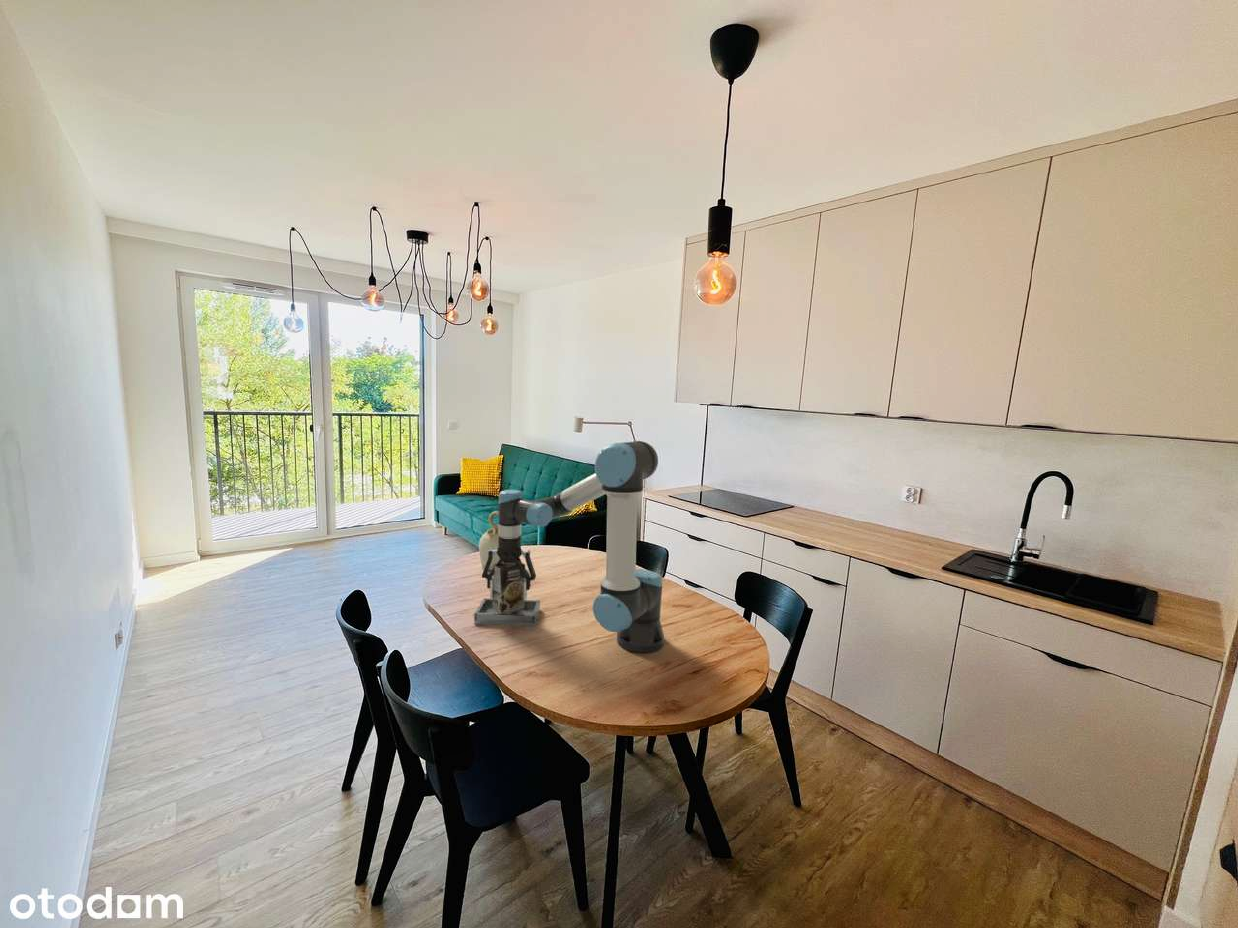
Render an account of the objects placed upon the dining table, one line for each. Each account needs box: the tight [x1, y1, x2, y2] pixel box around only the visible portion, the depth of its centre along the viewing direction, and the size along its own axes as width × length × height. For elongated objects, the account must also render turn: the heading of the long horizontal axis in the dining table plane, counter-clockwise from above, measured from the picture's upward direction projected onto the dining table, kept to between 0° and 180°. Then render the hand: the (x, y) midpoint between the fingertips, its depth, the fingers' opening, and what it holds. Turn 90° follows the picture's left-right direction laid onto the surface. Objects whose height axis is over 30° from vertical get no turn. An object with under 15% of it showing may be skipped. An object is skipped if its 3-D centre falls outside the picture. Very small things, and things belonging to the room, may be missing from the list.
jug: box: [478, 510, 504, 571], centre depth 217 cm, size 15×16×25 cm
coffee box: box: [492, 562, 526, 614], centre depth 170 cm, size 9×6×16 cm
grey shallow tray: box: [473, 597, 541, 627], centre depth 171 cm, size 20×12×4 cm, turn 91°
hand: (508, 597), depth 170 cm, fingers open, 11 cm apart
